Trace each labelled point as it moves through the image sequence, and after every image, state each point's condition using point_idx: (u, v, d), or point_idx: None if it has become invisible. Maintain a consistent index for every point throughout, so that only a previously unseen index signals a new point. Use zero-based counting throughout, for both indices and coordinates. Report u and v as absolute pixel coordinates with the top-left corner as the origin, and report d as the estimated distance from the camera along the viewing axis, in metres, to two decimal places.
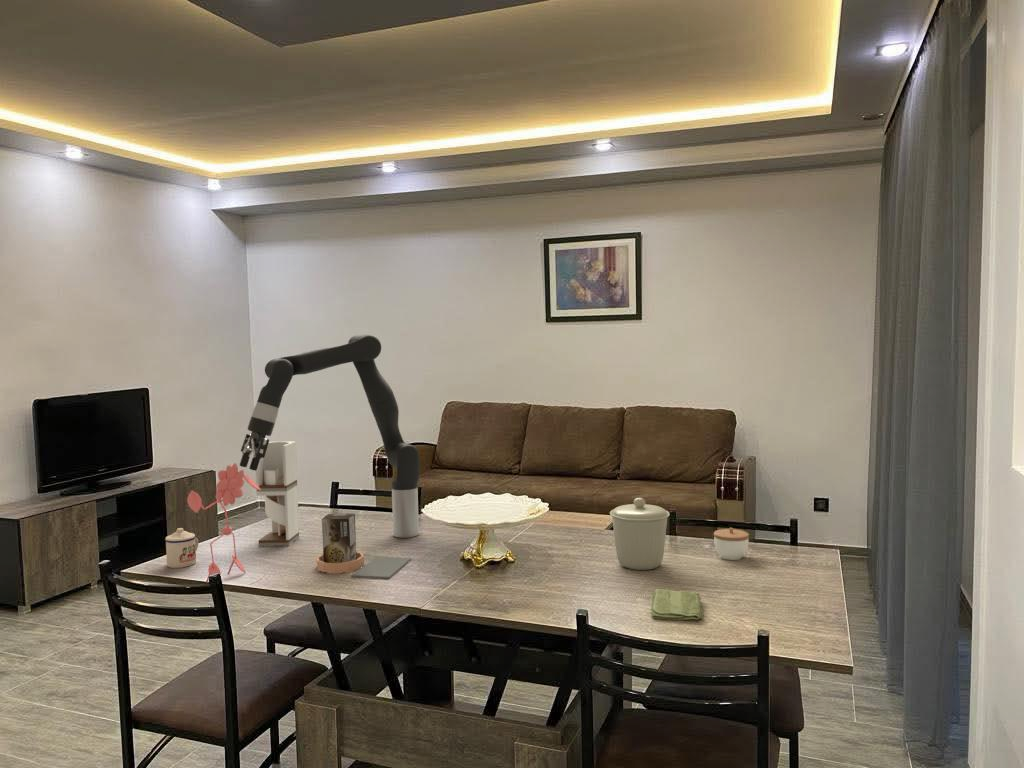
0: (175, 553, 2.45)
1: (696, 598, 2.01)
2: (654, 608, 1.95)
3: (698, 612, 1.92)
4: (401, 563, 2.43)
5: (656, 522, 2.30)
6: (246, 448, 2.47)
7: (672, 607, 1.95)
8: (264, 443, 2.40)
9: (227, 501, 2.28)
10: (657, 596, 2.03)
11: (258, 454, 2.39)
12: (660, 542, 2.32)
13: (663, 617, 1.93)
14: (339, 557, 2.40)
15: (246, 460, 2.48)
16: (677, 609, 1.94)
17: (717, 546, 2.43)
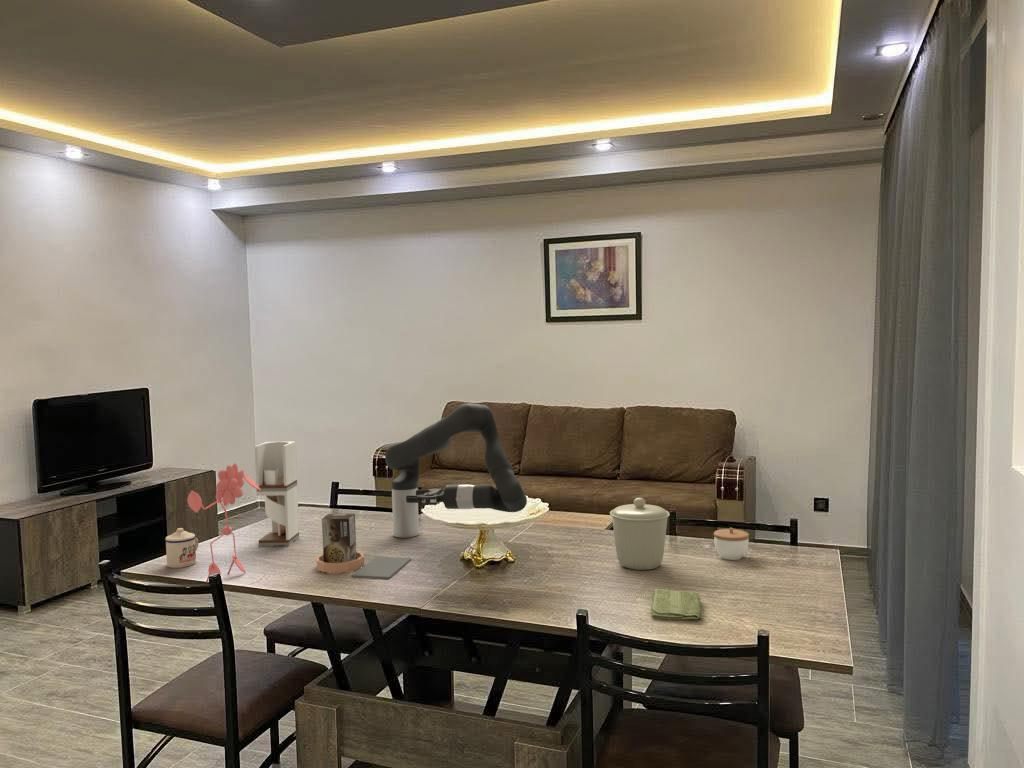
0: (175, 553, 2.45)
1: (695, 598, 2.01)
2: (654, 608, 1.95)
3: (698, 612, 1.92)
4: (401, 563, 2.43)
5: (656, 522, 2.30)
6: None
7: (672, 607, 1.95)
8: None
9: (227, 501, 2.28)
10: (656, 596, 2.03)
11: None
12: (660, 542, 2.32)
13: (663, 617, 1.93)
14: (339, 557, 2.40)
15: None
16: (676, 609, 1.94)
17: (717, 546, 2.43)
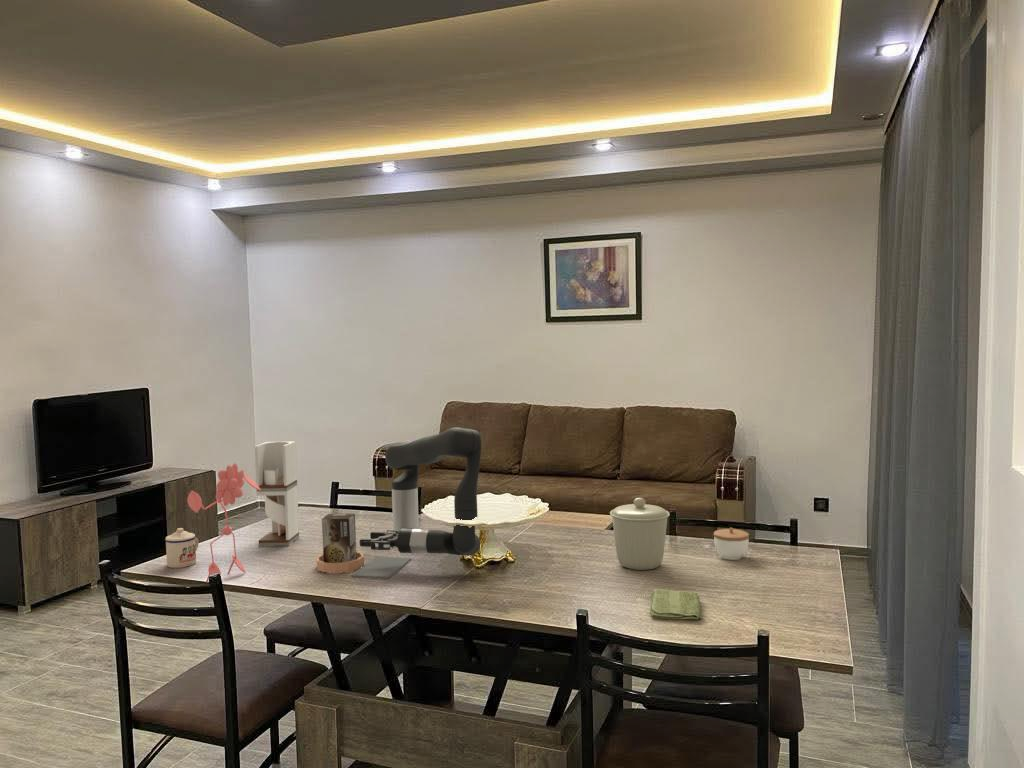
0: (175, 553, 2.45)
1: (695, 598, 2.01)
2: (653, 608, 1.95)
3: (697, 612, 1.92)
4: (401, 563, 2.43)
5: (656, 522, 2.30)
6: None
7: (671, 607, 1.95)
8: None
9: (227, 501, 2.28)
10: (656, 596, 2.03)
11: None
12: (660, 542, 2.32)
13: (662, 617, 1.93)
14: (339, 557, 2.40)
15: None
16: (676, 609, 1.94)
17: (717, 546, 2.43)
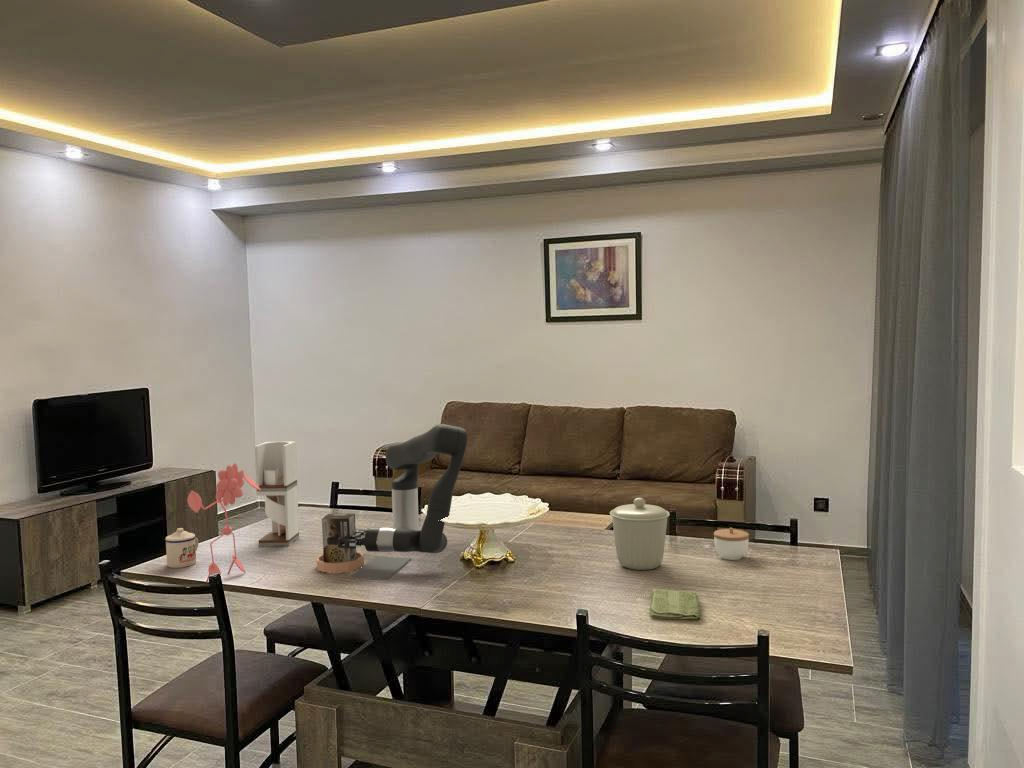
0: (175, 553, 2.45)
1: (694, 597, 2.01)
2: (652, 608, 1.95)
3: (696, 611, 1.92)
4: (401, 563, 2.43)
5: (656, 522, 2.30)
6: None
7: (670, 607, 1.95)
8: None
9: (227, 501, 2.28)
10: (655, 596, 2.03)
11: None
12: (660, 542, 2.32)
13: (662, 617, 1.93)
14: (339, 556, 2.40)
15: None
16: (675, 609, 1.94)
17: (717, 546, 2.43)
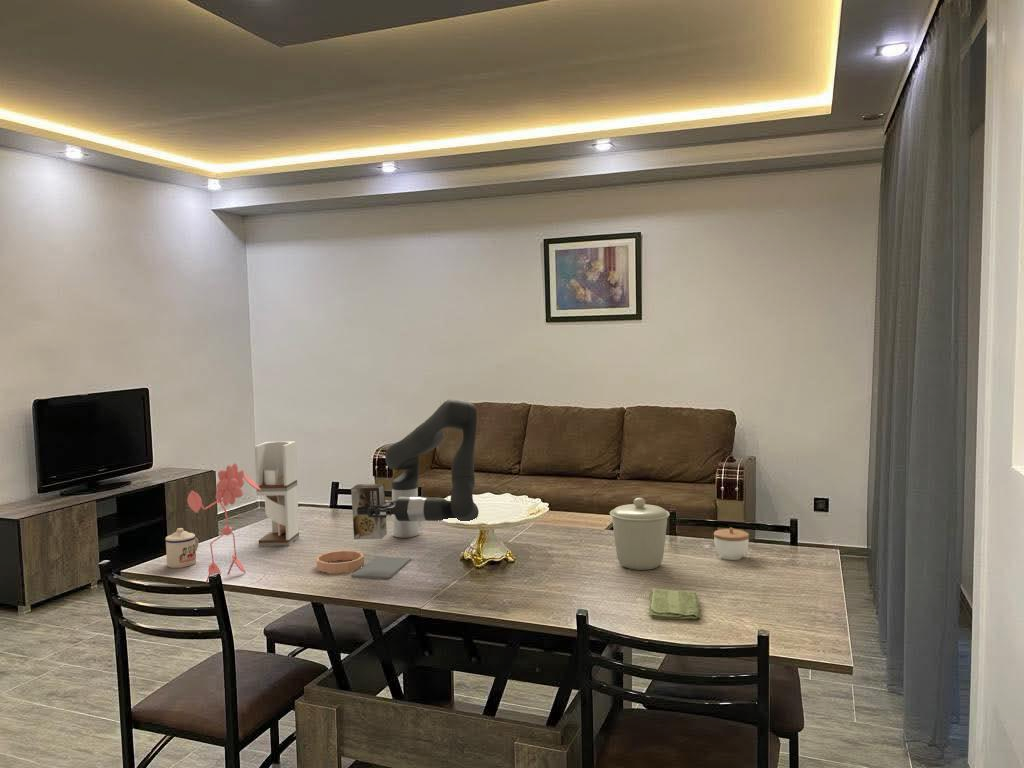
0: (175, 553, 2.45)
1: (693, 597, 2.02)
2: (652, 607, 1.96)
3: (696, 611, 1.92)
4: (401, 563, 2.43)
5: (656, 522, 2.30)
6: None
7: (670, 607, 1.95)
8: None
9: (227, 501, 2.28)
10: (654, 595, 2.03)
11: None
12: (660, 542, 2.32)
13: (661, 616, 1.93)
14: (369, 526, 2.37)
15: None
16: (675, 609, 1.94)
17: (717, 546, 2.43)
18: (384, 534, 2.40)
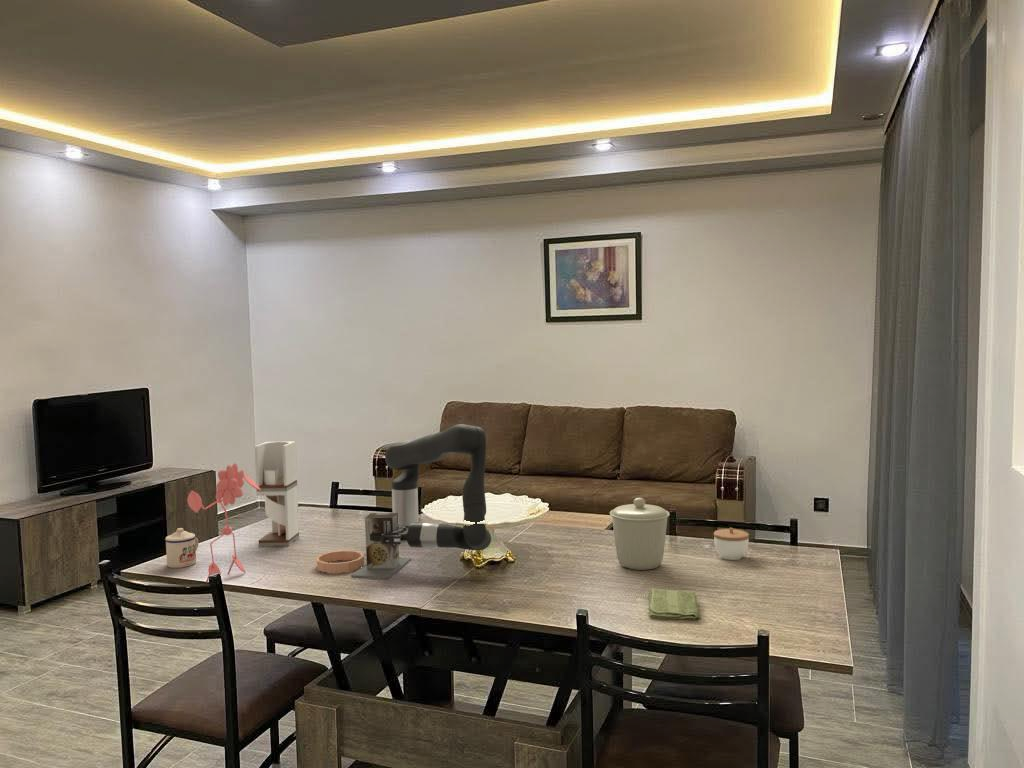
0: (175, 553, 2.45)
1: (692, 597, 2.02)
2: (651, 607, 1.96)
3: (695, 611, 1.92)
4: (401, 563, 2.43)
5: (656, 522, 2.30)
6: None
7: (669, 607, 1.95)
8: None
9: (227, 501, 2.28)
10: (654, 595, 2.03)
11: None
12: (660, 542, 2.32)
13: (661, 616, 1.93)
14: (382, 556, 2.38)
15: None
16: (674, 608, 1.94)
17: (717, 546, 2.43)
18: (397, 563, 2.40)
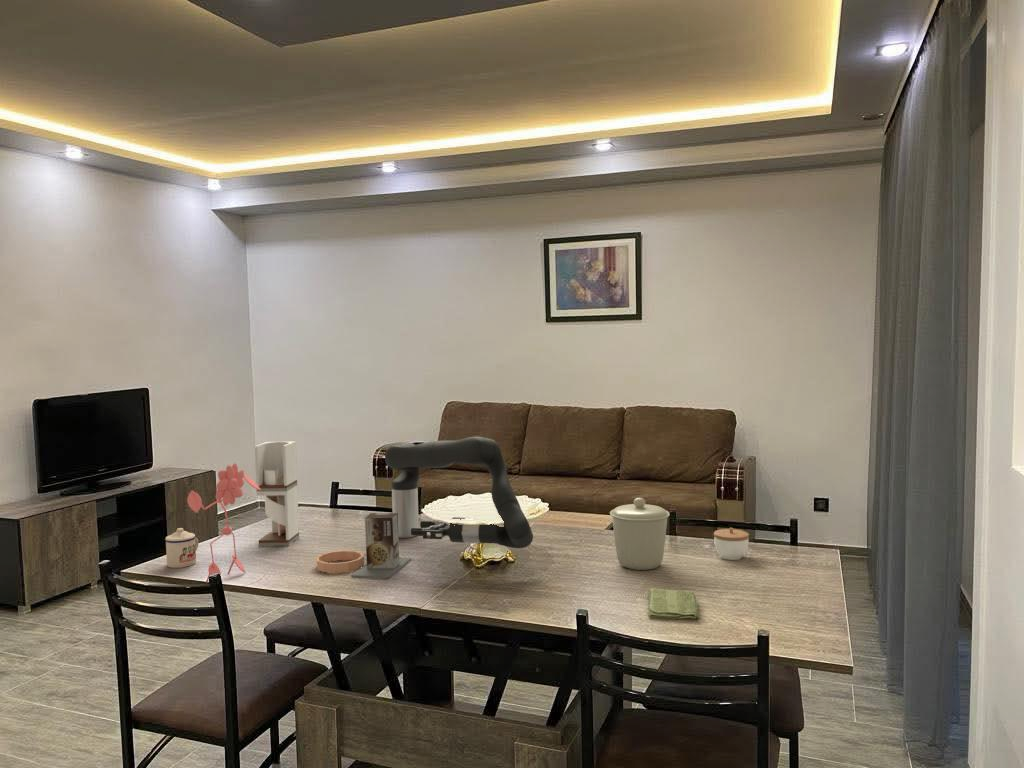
0: (175, 553, 2.45)
1: (692, 597, 2.02)
2: (651, 607, 1.96)
3: (695, 611, 1.92)
4: (401, 563, 2.43)
5: (656, 522, 2.30)
6: None
7: (669, 606, 1.95)
8: None
9: (227, 501, 2.28)
10: (653, 595, 2.03)
11: None
12: (660, 542, 2.32)
13: (660, 616, 1.93)
14: (382, 556, 2.38)
15: None
16: (674, 608, 1.95)
17: (717, 546, 2.43)
18: (397, 563, 2.40)
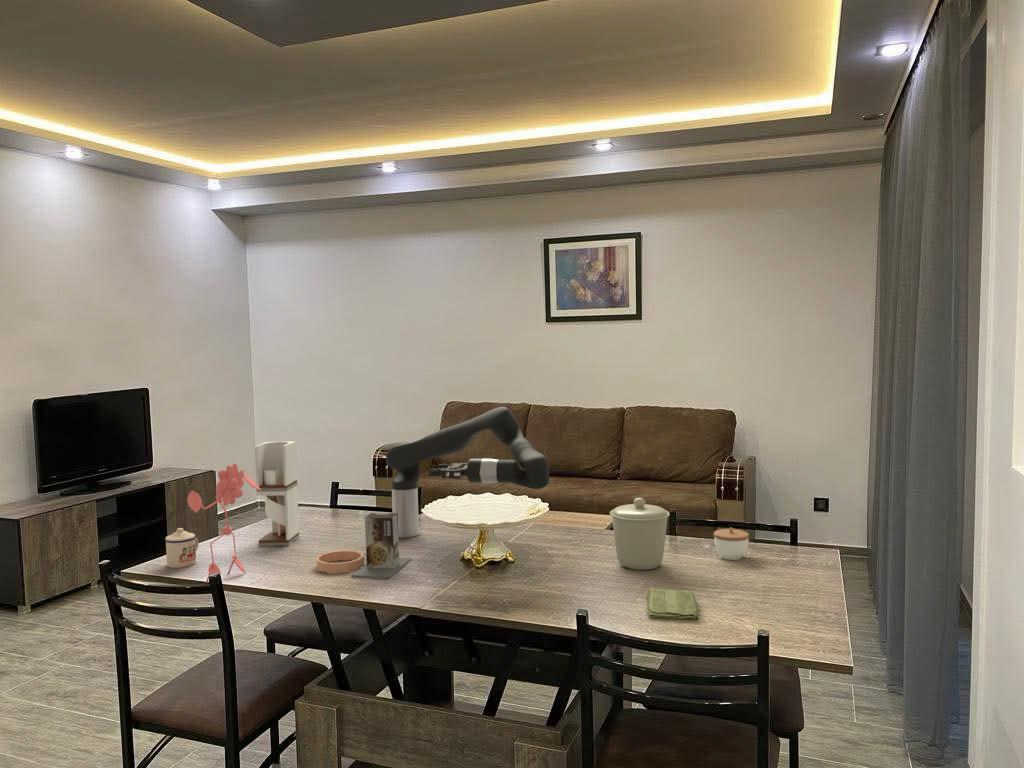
0: (175, 553, 2.45)
1: (691, 597, 2.02)
2: (650, 607, 1.96)
3: (694, 611, 1.93)
4: (401, 563, 2.43)
5: (656, 522, 2.30)
6: None
7: (668, 606, 1.96)
8: None
9: (227, 501, 2.28)
10: (652, 595, 2.03)
11: None
12: (660, 542, 2.32)
13: (660, 616, 1.93)
14: (382, 556, 2.38)
15: None
16: (673, 608, 1.95)
17: (717, 546, 2.43)
18: (397, 563, 2.40)
